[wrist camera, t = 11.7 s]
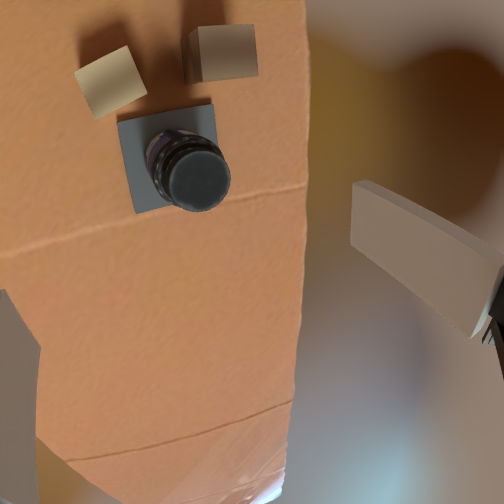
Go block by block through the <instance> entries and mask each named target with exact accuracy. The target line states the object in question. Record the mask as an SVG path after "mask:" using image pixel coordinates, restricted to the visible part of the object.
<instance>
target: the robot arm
mask: <svg viewBox="0 0 504 504" xmlns="http://www.w3.org/2000/svg"><path fill="white" fill-rule="evenodd" d="M352 194H353V195H352V217H351V235H350V244H351V245H352V246H353V247H355V248H356V249H357V250H359V251H360V252H361V253H363V254H364V255H365V256H367V257H368V258H370V259H371V260H372V261H373V262H375V263H376V264H377V265H379V266H380V267H381V268H383V269H384V270H385V271H387V272H388V273H389V274H391V275H392V276H393V277H394V278H396V279H397V280H398V281H400V282H401V283H402V284H403V285H405V286H406V287H407V288H409V289H410V290H411V291H412V292H413V293H415V294H416V295H417V296H418V297H420V298H421V299H422V300H424V301H425V302H426V303H427V304H428V305H430V306H431V307H432V308H433V309H435V310H436V311H437V312H438V313H439V314H441V315H442V316H443V317H444V318H445V319H447V320H448V321H449V322H450V323H451V324H453V325H454V326H455V327H456V328H457V329H458V330H460V331H461V332H462V333H463V334H464V335H466V336H467V337H468V338H469V339H471V338H472V337H473V336H474V335H475V334H476V333H477V332H478V331H479V330H480V329H481V328H482V326H483V324H484V322H485V320H486V318H487V316H488V314H489V315H490V316H491V317H492V320H491V322H490V324H489V326H488V328H487V330H486V332H485V334H484V336H483V338H482V344H485V343H486V341H487V339H488V337H489V335H490V334H492V336H491V338H490V340H489V343H488V344H495V346H496V350H497V353H498V358H499V362H500V366H501V370H502V374H503V379H504V254H502V253H501V252H499V251H498V250H496V249H495V248H493V247H491V246H490V245H488V244H487V243H485V242H483V241H482V240H480V239H478V238H477V237H475V236H474V235H472V234H470V233H468V232H467V231H465V230H463V229H461V228H460V227H458V226H456V225H455V224H453V223H451V222H449V221H448V220H446V219H444V218H442V217H440V216H438V215H437V214H435V213H433V212H431V211H429V210H427V209H425V208H423V207H422V206H420V205H418V204H416V203H414V202H412V201H410V200H408V199H406V198H404V197H402V196H400V195H398V194H396V193H394V192H392V191H390V190H388V189H386V188H383V187H382V186H379V185H377V184H375V183H373V182H371V181H368V180H364V181H360V182H356V183H353V192H352ZM40 350H41V346H40V345H39V344H38V342H37V341H36V339H35V338H34V336H33V335H32V333H31V332H30V330H29V329H28V327H27V326H26V324H25V322H24V321H23V319H22V318H21V316H20V314H19V313H18V311H17V309H16V308H15V306H14V304H13V303H12V301H11V299H10V298H9V296H8V294H7V292H6V290H5V289H3V290H0V504H40V500H39V491H38V482H37V481H38V480H37V467H36V443H35V442H36V441H35V420H36V393H37V379H38V368H39V358H40Z"/></svg>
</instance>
